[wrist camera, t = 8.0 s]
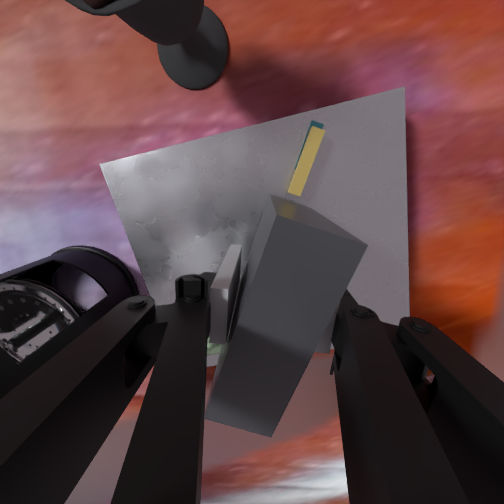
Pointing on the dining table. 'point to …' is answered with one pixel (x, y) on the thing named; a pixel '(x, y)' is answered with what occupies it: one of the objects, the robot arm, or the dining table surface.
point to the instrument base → (275, 183)
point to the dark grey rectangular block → (281, 306)
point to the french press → (51, 309)
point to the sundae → (173, 35)
